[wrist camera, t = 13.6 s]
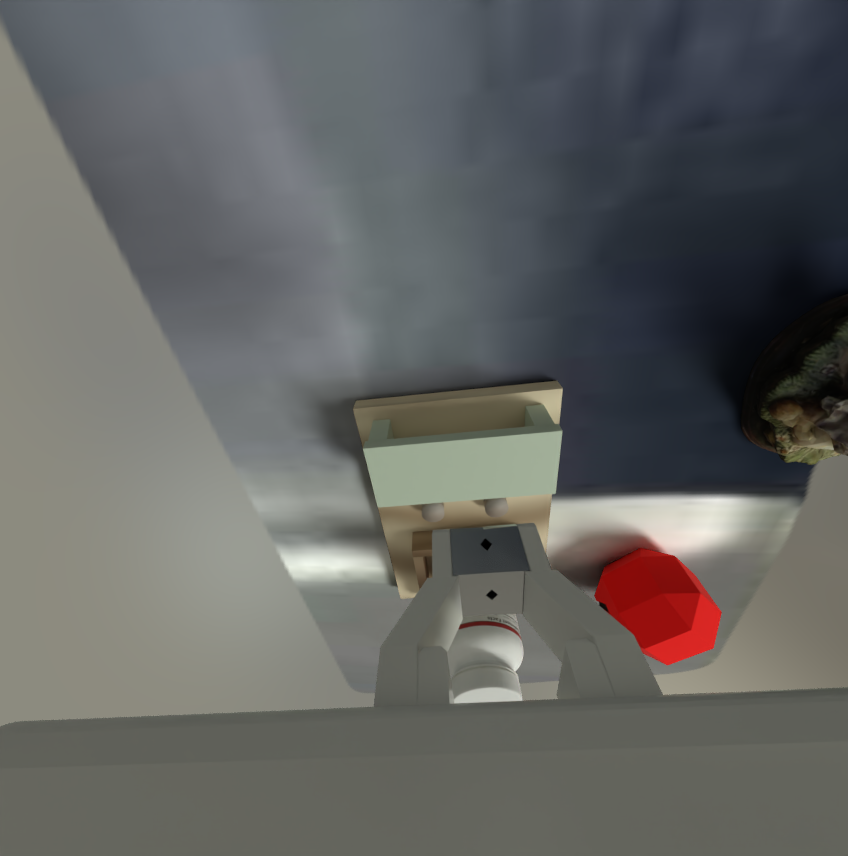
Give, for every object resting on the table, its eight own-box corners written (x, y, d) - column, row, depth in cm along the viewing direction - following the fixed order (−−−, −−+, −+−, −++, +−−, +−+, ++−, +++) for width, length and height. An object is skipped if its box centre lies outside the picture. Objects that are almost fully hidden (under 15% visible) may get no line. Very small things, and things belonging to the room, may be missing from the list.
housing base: (355, 400, 25) (347, 424, 23) (557, 380, 24) (573, 402, 22) (401, 587, 37) (399, 618, 34) (538, 579, 36) (547, 609, 33)
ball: (574, 567, 35) (607, 649, 29) (649, 526, 32) (706, 607, 26) (617, 600, 38) (656, 681, 32) (691, 565, 35) (751, 647, 28)
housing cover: (370, 420, 25) (363, 448, 22) (546, 404, 24) (562, 430, 21) (382, 476, 27) (377, 507, 25) (541, 462, 27) (555, 493, 24)
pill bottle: (461, 589, 35) (474, 730, 26) (422, 558, 33) (421, 701, 23) (516, 564, 33) (551, 707, 24) (478, 528, 31) (502, 673, 21)
